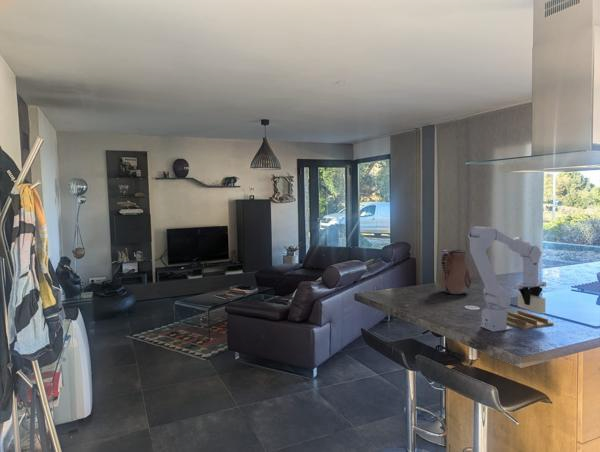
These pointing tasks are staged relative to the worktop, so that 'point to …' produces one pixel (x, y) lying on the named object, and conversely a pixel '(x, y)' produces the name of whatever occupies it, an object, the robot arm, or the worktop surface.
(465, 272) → the ceramic pitcher
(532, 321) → the ridged tan board
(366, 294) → the worktop surface
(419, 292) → the worktop surface
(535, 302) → the cream rectangular block
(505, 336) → the worktop surface
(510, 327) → the robot arm
